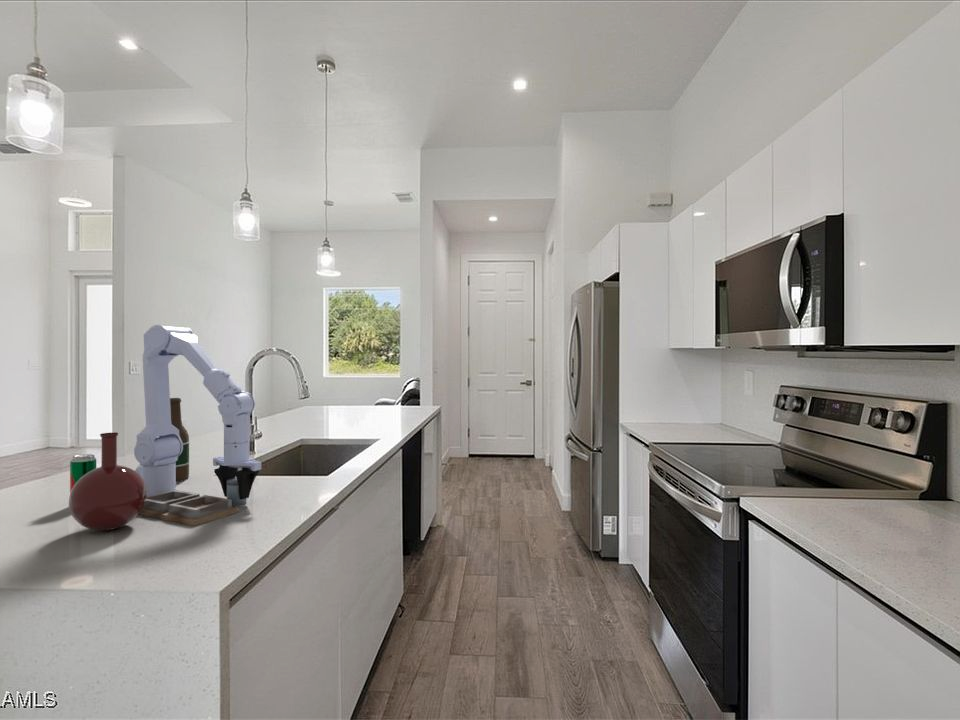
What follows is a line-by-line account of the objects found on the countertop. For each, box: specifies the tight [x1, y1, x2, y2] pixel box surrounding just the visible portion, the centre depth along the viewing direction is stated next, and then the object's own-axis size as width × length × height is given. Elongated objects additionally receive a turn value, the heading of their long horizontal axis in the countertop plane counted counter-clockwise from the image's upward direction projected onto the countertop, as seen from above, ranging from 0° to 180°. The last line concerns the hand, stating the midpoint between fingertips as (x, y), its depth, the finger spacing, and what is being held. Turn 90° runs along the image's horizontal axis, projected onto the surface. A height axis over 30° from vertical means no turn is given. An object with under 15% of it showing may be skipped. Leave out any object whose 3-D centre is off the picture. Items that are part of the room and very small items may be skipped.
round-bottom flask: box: [68, 432, 147, 532], centre depth 106 cm, size 13×13×20 cm
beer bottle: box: [158, 397, 190, 483], centre depth 148 cm, size 8×8×24 cm
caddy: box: [138, 489, 239, 527], centre depth 118 cm, size 22×11×3 cm, turn 65°
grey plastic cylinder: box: [226, 478, 247, 507], centre depth 125 cm, size 4×4×6 cm
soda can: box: [69, 453, 97, 494], centre depth 123 cm, size 5×5×12 cm
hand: (236, 497), depth 125 cm, fingers open, 5 cm apart
